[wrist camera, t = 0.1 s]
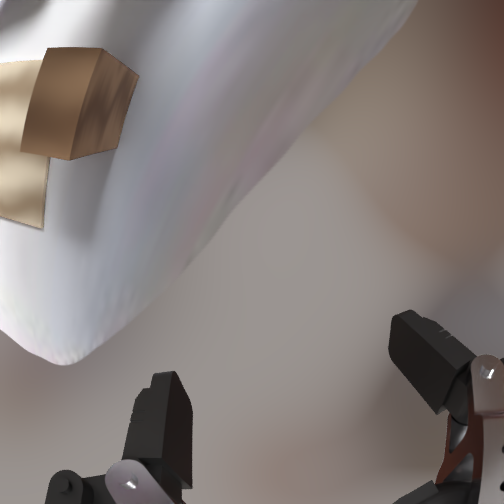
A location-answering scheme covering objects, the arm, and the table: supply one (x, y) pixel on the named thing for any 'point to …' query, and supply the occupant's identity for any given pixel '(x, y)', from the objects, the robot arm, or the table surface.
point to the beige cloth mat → (8, 148)
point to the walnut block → (77, 103)
